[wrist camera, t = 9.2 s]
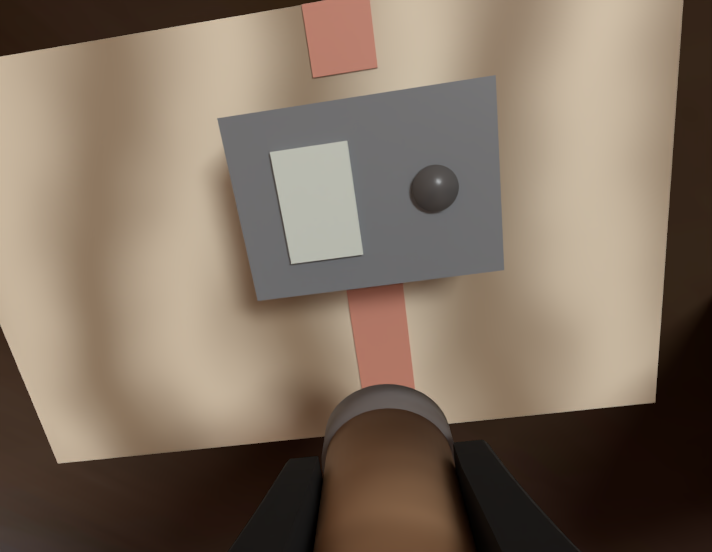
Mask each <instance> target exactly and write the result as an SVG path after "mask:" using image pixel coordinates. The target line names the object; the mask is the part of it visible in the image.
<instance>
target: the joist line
mask: <svg viewBox="0 0 712 552" xmlns="http://www.w3.org/2000/svg"><path fill="white" fill-rule="evenodd" d="M302 11H303V17H304V23H305V30H306V36H307V42H308V49H309V55H310V61H311V68H312V74H313V78H316V77H323V76H329V75H335V74H341V73H348V72H354V71H360V70H366V69H373V68H378V67H377V58H376V49H375V41H374V32H373V24H372V15H371V6H370V0H325V1H319V2H313V3H307V4H302ZM347 297H348V303H349V310H350V316H351V322H352V329H353V335H354V341H355V348H356V354H357V361H358V367H359V373H360V380H361V386H362V388H365V387H369V386H373V385H379V384H396V385H402V386H406V387H410V388H413V389H415V385H414V376H413V367H412V359H411V350H410V342H409V333H408V324H407V316H406V307H405V299H404V290H403V283H399V284H391V285H383V286H375V287H367V288H359V289H351V290H347Z"/></svg>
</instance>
